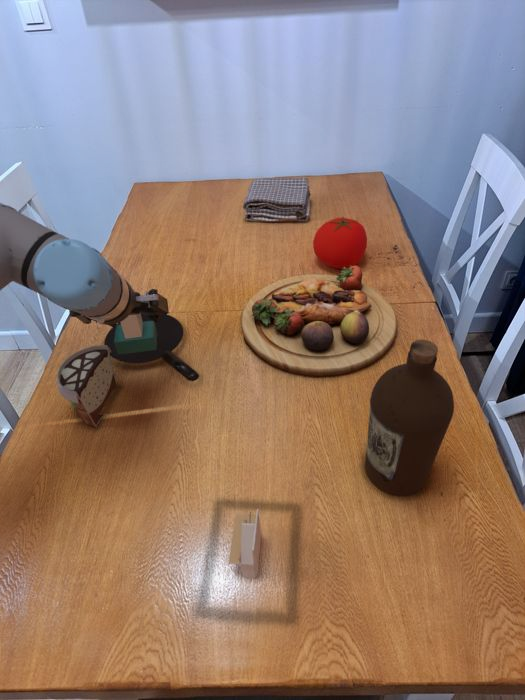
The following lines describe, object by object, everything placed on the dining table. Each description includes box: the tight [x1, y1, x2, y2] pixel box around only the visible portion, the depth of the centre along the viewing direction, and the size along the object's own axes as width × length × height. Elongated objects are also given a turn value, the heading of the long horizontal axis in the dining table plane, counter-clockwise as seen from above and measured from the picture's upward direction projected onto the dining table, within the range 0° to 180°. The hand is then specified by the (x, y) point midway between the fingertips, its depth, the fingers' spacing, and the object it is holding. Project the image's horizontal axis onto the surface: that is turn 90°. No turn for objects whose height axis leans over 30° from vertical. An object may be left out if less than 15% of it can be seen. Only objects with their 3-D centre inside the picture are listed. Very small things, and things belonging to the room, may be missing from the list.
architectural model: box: [228, 508, 262, 579], centre depth 64 cm, size 3×7×7 cm, turn 175°
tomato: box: [312, 216, 368, 270], centre depth 116 cm, size 12×13×11 cm
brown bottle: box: [364, 339, 455, 497], centre depth 67 cm, size 11×11×25 cm
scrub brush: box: [114, 287, 157, 355], centre depth 87 cm, size 5×7×11 cm
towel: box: [242, 177, 311, 223], centre depth 139 cm, size 15×18×8 cm
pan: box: [103, 314, 200, 382], centre depth 97 cm, size 26×16×2 cm, turn 43°
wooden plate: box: [240, 265, 398, 377], centre depth 100 cm, size 32×32×8 cm
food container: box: [56, 344, 118, 429], centre depth 84 cm, size 12×6×10 cm, turn 168°
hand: (134, 317), depth 91 cm, fingers closed on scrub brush, 7 cm apart
